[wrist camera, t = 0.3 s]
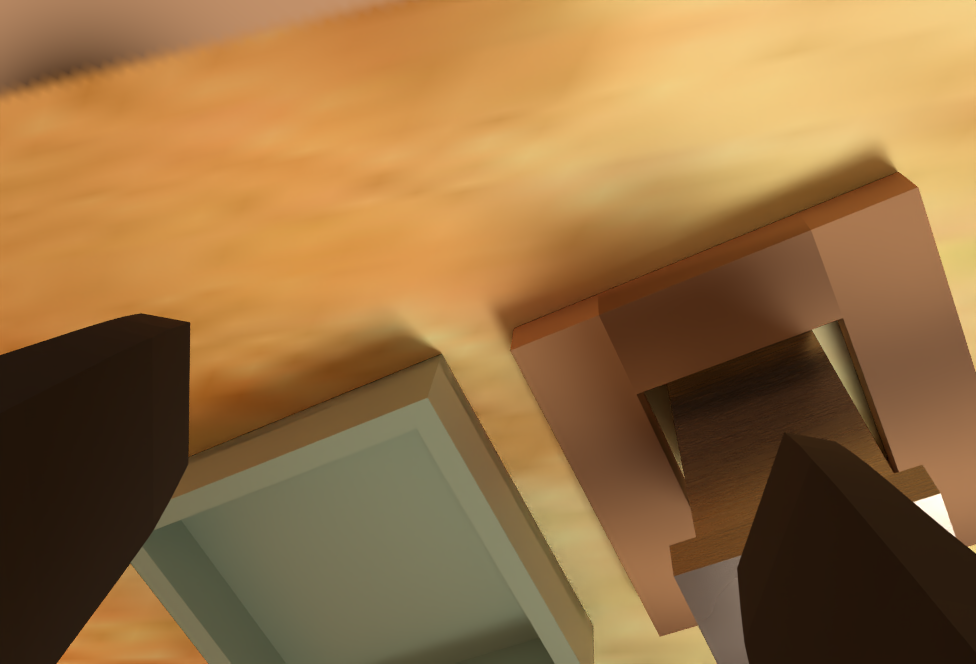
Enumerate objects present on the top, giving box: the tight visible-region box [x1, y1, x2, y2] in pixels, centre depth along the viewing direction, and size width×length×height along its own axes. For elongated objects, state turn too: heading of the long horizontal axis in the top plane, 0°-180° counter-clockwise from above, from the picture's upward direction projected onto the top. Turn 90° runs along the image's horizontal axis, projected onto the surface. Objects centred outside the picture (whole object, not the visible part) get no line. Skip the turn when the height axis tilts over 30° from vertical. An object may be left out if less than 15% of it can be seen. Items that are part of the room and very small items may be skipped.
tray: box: [131, 354, 594, 664], centre depth 23 cm, size 9×9×2 cm
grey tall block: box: [667, 330, 956, 664], centre depth 18 cm, size 4×4×7 cm
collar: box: [510, 172, 976, 636], centre depth 21 cm, size 9×9×1 cm
